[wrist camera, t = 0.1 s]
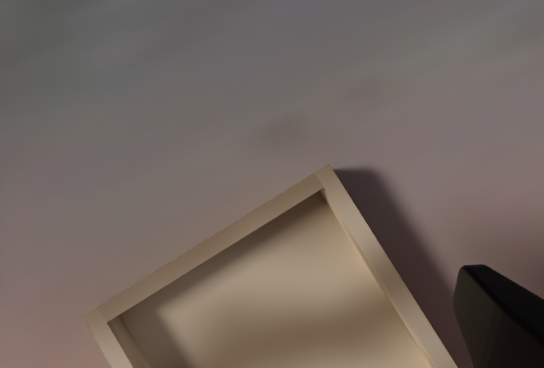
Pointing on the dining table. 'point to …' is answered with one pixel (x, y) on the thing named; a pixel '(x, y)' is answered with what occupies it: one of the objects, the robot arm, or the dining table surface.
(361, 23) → the dining table surface
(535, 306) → the robot arm
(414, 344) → the tray
